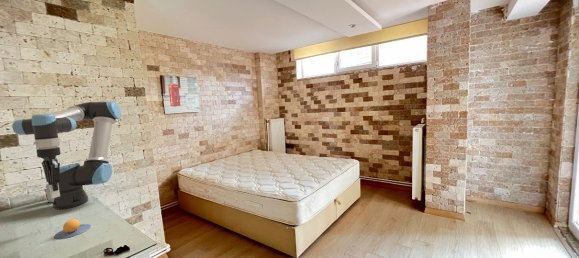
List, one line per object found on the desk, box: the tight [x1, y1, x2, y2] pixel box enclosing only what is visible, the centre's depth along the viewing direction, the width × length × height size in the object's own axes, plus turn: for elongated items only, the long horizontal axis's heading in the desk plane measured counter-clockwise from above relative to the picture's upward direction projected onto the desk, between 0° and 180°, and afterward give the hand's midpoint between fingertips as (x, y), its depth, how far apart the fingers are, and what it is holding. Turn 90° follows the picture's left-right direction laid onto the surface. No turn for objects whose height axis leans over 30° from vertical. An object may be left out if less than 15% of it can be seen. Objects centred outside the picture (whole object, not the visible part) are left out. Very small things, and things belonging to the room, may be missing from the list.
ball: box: [62, 218, 81, 233], centre depth 103 cm, size 6×6×6 cm
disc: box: [53, 223, 92, 240], centre depth 103 cm, size 12×12×1 cm
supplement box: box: [45, 183, 54, 204], centre depth 141 cm, size 6×6×12 cm
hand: (55, 197), depth 108 cm, fingers closed
